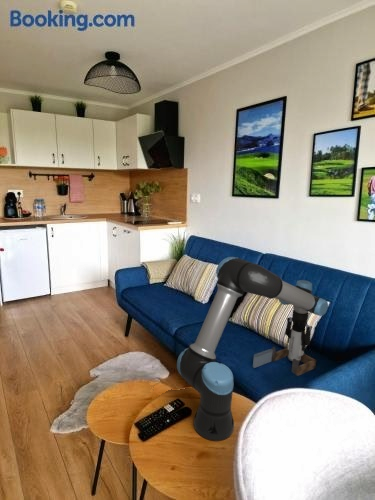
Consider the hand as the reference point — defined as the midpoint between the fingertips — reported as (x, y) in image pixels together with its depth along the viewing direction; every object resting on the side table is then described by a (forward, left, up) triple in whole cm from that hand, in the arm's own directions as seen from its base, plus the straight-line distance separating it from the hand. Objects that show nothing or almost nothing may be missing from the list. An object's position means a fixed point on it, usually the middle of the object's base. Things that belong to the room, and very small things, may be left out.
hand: (295, 352), depth 167 cm
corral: (0, 0, -7) cm, 7 cm away
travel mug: (0, 0, -4) cm, 4 cm away
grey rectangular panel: (-16, +8, -6) cm, 19 cm away
